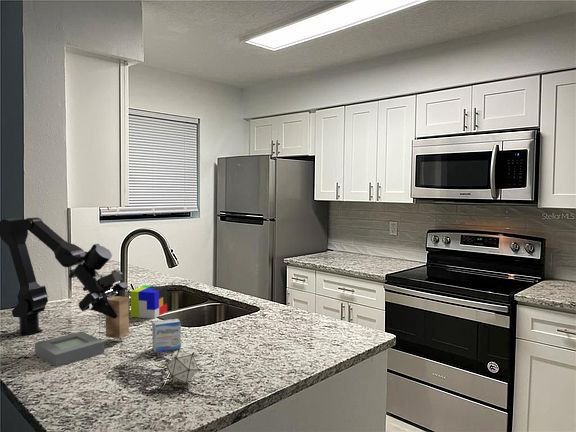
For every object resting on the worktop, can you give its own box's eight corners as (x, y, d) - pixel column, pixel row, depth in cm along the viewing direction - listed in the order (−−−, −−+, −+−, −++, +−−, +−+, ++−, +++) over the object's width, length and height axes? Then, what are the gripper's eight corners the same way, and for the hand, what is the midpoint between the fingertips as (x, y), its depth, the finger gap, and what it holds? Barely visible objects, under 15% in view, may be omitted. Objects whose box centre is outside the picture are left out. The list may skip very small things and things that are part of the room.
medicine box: (155, 353, 133) (154, 325, 133) (152, 348, 137) (151, 321, 137) (181, 349, 137) (181, 321, 136) (177, 344, 141) (177, 317, 140)
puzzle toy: (154, 318, 168) (154, 292, 167) (130, 316, 170) (130, 291, 169) (167, 311, 178) (166, 286, 177) (144, 309, 180) (144, 285, 179)
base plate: (35, 354, 131) (34, 343, 131) (81, 342, 142) (81, 331, 142) (56, 367, 122) (55, 354, 122) (104, 352, 133) (104, 341, 133)
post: (105, 336, 141) (105, 299, 141) (115, 331, 146) (114, 296, 145) (119, 338, 140) (119, 301, 139) (128, 333, 145) (128, 297, 144)
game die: (177, 394, 115) (168, 357, 119) (208, 382, 115) (198, 345, 120) (164, 391, 107) (156, 351, 111) (198, 378, 107) (188, 339, 112)
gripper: (86, 268, 133) (119, 306, 132) (123, 258, 152) (152, 292, 150) (64, 291, 136) (96, 330, 134) (103, 279, 154) (131, 313, 152)
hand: (121, 315), depth 142 cm, fingers closed on post, 5 cm apart
